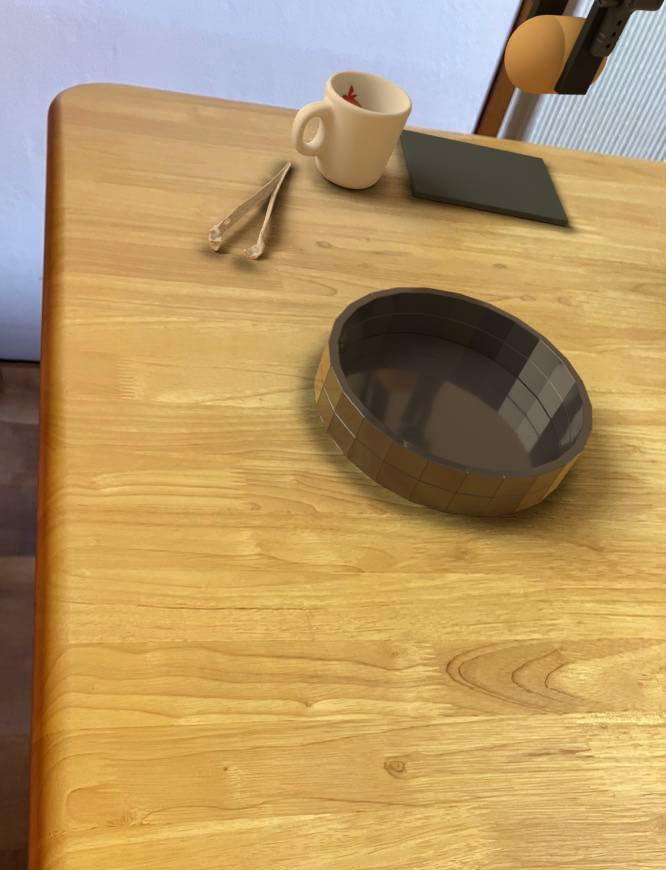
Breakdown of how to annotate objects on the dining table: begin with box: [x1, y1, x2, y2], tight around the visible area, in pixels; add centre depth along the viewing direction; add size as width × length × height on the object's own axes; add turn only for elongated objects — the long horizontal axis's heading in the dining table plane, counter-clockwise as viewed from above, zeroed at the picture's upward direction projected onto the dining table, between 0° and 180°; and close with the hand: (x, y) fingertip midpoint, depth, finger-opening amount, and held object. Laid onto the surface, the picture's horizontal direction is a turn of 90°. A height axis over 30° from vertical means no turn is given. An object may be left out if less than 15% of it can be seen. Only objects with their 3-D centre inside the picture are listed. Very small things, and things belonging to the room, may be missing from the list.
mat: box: [399, 128, 569, 227], centre depth 90 cm, size 16×12×1 cm
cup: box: [291, 70, 413, 190], centre depth 81 cm, size 11×8×8 cm
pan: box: [313, 286, 593, 517], centre depth 64 cm, size 19×19×4 cm
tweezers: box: [208, 161, 292, 260], centre depth 78 cm, size 17×5×2 cm, turn 162°
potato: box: [504, 15, 608, 95], centre depth 70 cm, size 9×5×5 cm, turn 112°
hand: (548, 72), depth 71 cm, fingers closed on potato, 5 cm apart
